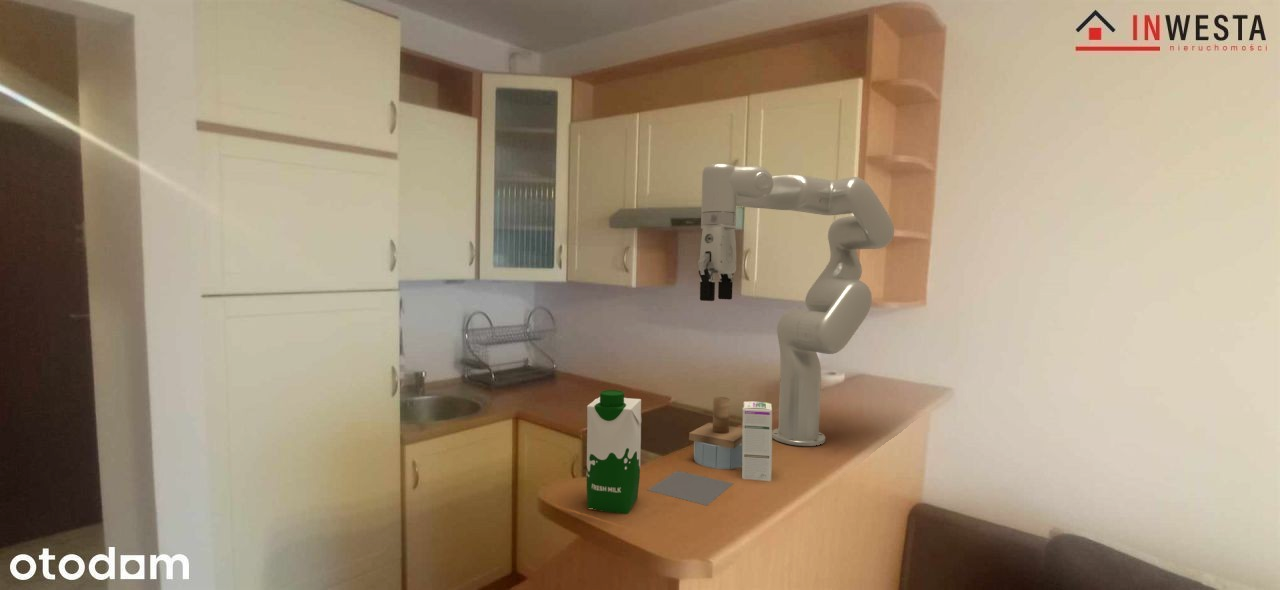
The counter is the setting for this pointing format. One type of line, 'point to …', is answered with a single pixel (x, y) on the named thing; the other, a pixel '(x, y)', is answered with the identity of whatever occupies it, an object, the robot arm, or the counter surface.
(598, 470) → the milk carton
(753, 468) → the syrup box
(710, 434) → the lid
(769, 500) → the counter surface
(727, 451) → the bowl
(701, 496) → the mat
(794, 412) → the robot arm
